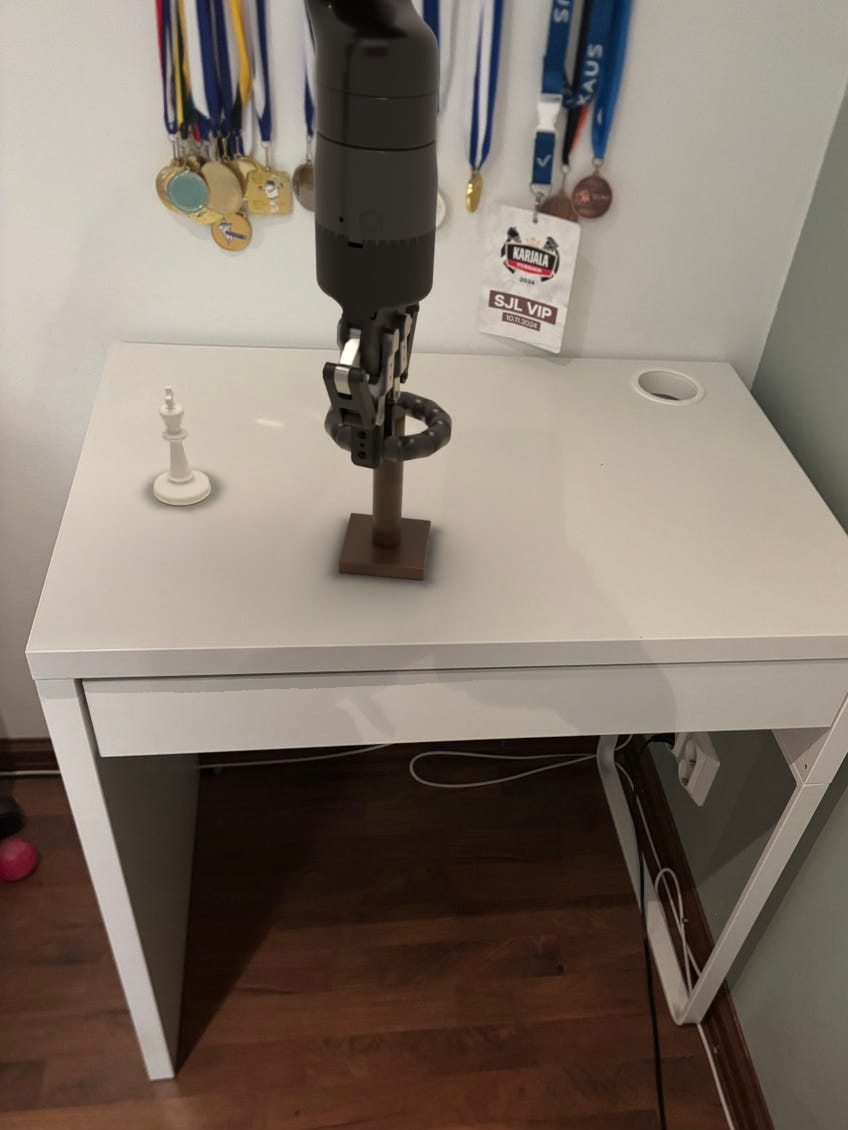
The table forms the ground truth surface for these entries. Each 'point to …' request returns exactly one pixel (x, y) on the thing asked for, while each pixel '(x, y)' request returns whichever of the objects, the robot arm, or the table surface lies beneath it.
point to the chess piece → (178, 462)
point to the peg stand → (386, 528)
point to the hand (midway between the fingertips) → (372, 455)
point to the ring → (409, 444)
